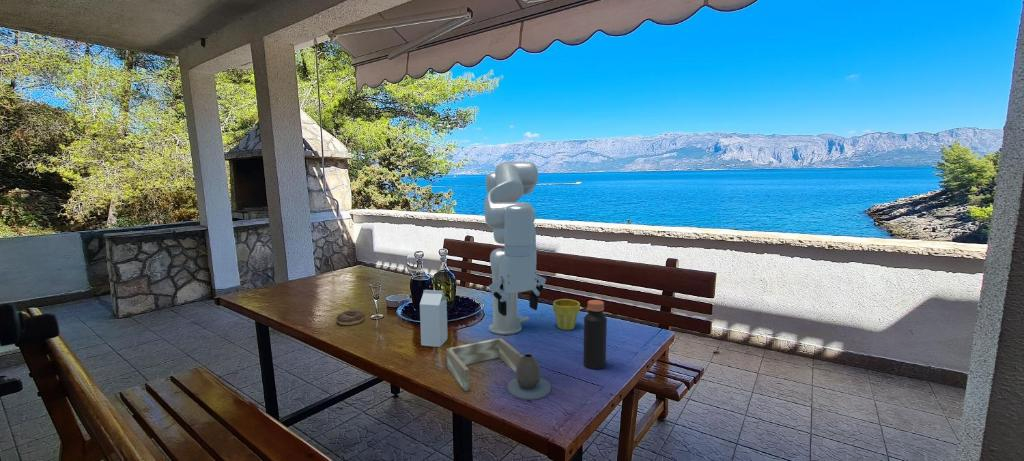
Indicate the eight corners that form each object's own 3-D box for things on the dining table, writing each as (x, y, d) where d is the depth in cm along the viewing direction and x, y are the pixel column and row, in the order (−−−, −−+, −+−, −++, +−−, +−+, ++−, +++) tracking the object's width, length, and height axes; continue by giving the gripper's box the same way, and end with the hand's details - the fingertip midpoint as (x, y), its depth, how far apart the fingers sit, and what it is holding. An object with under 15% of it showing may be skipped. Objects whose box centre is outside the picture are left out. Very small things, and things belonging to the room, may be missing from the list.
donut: (355, 316, 173) (354, 306, 172) (370, 321, 166) (369, 311, 166) (331, 323, 164) (330, 313, 164) (346, 328, 158) (345, 318, 157)
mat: (536, 374, 120) (536, 372, 120) (559, 392, 109) (559, 390, 109) (500, 383, 114) (500, 381, 114) (520, 404, 104) (520, 402, 104)
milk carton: (440, 347, 139) (438, 293, 137) (420, 345, 141) (419, 292, 138) (447, 339, 146) (446, 288, 144) (429, 338, 148) (427, 287, 145)
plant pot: (585, 328, 157) (585, 303, 156) (565, 333, 151) (565, 308, 150) (567, 320, 165) (567, 297, 164) (547, 325, 160) (547, 301, 158)
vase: (514, 380, 115) (513, 351, 114) (537, 378, 116) (538, 349, 115) (517, 393, 108) (517, 361, 107) (543, 391, 109) (543, 360, 108)
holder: (500, 355, 133) (500, 337, 132) (524, 376, 119) (524, 356, 118) (446, 367, 125) (446, 348, 124) (465, 391, 110) (464, 370, 110)
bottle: (601, 371, 121) (602, 306, 119) (579, 366, 125) (581, 303, 122) (608, 363, 127) (610, 301, 124) (588, 358, 131) (589, 297, 128)
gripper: (538, 245, 117) (537, 302, 120) (483, 251, 109) (484, 312, 111) (552, 250, 111) (552, 310, 113) (495, 256, 102) (496, 321, 105)
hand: (518, 311), depth 112 cm, fingers open, 9 cm apart
